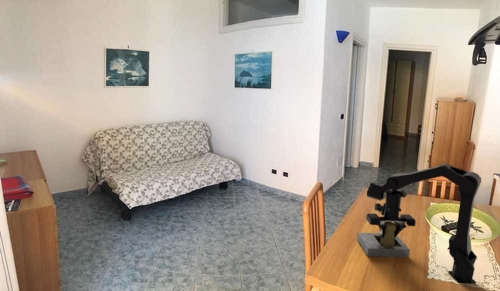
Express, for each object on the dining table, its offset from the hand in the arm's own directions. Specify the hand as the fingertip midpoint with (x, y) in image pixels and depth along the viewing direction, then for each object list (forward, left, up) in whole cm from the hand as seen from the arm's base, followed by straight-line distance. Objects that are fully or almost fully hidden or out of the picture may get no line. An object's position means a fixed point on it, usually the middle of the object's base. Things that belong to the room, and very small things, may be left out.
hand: (387, 238), depth 134 cm
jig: (0, +2, -5) cm, 5 cm away
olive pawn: (0, 0, -4) cm, 4 cm away
